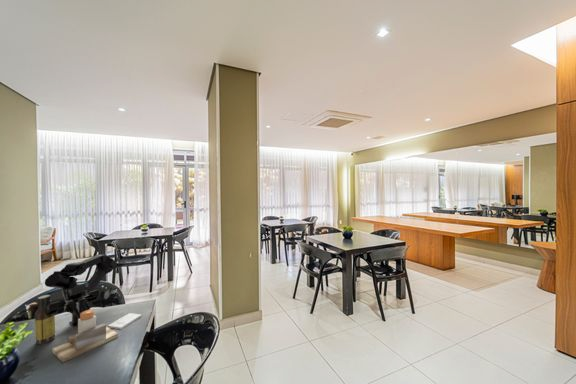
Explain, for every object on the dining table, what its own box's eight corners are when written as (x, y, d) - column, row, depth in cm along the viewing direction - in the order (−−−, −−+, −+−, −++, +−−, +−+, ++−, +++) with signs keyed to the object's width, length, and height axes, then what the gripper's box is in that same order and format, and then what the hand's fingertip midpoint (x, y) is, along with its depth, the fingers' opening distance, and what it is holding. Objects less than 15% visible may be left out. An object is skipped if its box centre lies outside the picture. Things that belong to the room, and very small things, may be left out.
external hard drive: (141, 317, 126) (120, 330, 114) (129, 315, 128) (107, 328, 115) (141, 314, 126) (120, 327, 114) (129, 312, 128) (107, 325, 115)
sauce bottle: (57, 334, 110) (57, 292, 110) (51, 342, 104) (51, 297, 104) (38, 338, 107) (38, 295, 107) (31, 346, 101) (31, 300, 101)
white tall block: (77, 342, 102) (77, 313, 102) (91, 336, 106) (92, 308, 106) (82, 345, 99) (82, 316, 99) (96, 339, 104) (96, 311, 104)
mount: (52, 352, 98) (52, 333, 98) (106, 329, 114) (106, 313, 114) (62, 362, 91) (62, 343, 92) (118, 336, 108) (118, 320, 108)
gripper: (47, 285, 102) (57, 317, 96) (98, 273, 118) (109, 299, 113) (41, 299, 106) (50, 331, 100) (91, 285, 122) (101, 312, 117)
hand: (80, 317), depth 107 cm, fingers closed
